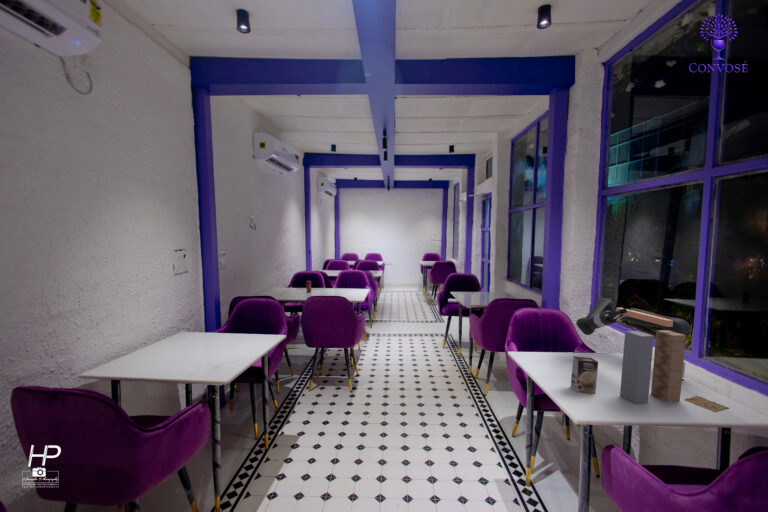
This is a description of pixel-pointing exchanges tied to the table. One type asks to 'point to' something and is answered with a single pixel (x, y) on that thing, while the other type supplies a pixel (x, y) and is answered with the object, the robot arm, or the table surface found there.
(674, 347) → the walnut stand
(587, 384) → the coffee box
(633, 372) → the grey stand
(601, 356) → the table surface
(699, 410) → the table surface
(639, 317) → the bar
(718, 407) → the sandy brown tile
